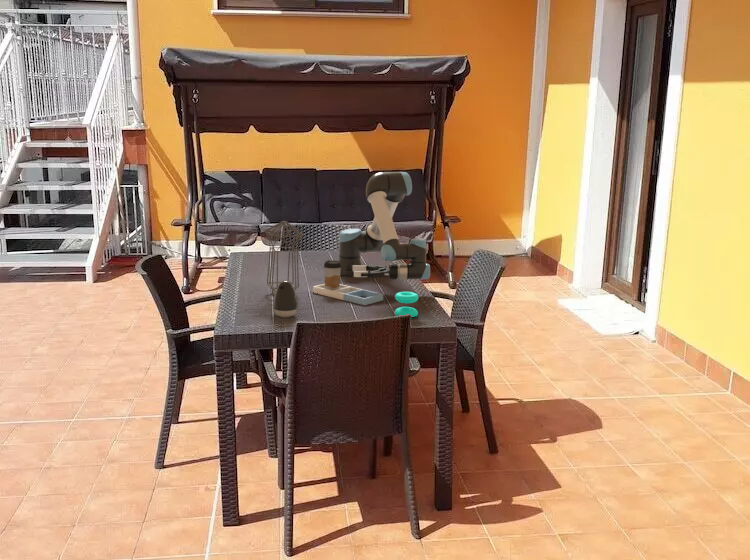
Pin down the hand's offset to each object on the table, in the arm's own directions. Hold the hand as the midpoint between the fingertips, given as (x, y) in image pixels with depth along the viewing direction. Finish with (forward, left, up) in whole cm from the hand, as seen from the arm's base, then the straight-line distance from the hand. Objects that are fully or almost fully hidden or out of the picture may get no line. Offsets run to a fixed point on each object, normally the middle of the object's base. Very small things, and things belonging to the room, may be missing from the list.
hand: (353, 271), depth 366 cm
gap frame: (+7, +3, -11) cm, 13 cm away
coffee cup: (+7, -7, -11) cm, 15 cm away
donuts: (+14, +44, -11) cm, 47 cm away
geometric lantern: (+26, -20, -11) cm, 34 cm away
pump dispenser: (+51, +8, -11) cm, 53 cm away
